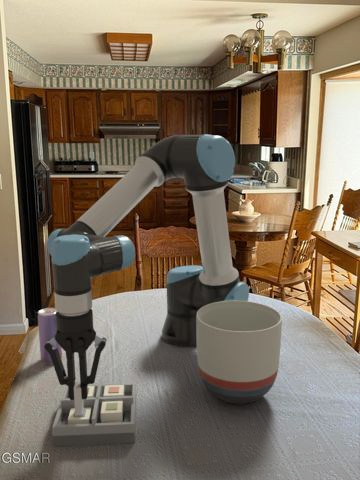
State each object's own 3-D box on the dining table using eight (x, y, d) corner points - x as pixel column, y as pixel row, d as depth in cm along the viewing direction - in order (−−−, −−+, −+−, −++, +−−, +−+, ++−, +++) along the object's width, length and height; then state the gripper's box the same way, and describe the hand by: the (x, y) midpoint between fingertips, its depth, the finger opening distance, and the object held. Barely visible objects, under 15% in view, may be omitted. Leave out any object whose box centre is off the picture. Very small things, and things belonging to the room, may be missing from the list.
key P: (123, 413, 108) (122, 400, 107) (122, 425, 103) (121, 411, 102) (102, 414, 107) (102, 400, 107) (101, 426, 103) (100, 412, 102)
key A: (124, 397, 114) (124, 384, 114) (123, 407, 110) (123, 394, 109) (105, 397, 114) (105, 384, 113) (103, 408, 110) (103, 394, 109)
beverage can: (56, 365, 135) (53, 315, 132) (37, 363, 136) (33, 314, 133) (65, 356, 141) (62, 308, 138) (46, 354, 142) (43, 306, 139)
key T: (91, 420, 107) (91, 406, 107) (89, 432, 103) (88, 418, 102) (71, 421, 107) (70, 407, 106) (68, 433, 103) (67, 419, 102)
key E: (95, 398, 114) (94, 385, 113) (92, 408, 110) (92, 395, 109) (75, 398, 114) (75, 385, 113) (73, 409, 109) (72, 396, 109)
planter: (196, 374, 130) (196, 300, 125) (271, 375, 129) (274, 300, 124) (196, 418, 110) (196, 331, 105) (285, 419, 109) (289, 332, 105)
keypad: (136, 397, 118) (136, 376, 117) (134, 442, 101) (134, 418, 100) (67, 400, 117) (65, 379, 116) (53, 446, 100) (51, 421, 99)
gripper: (107, 302, 103) (110, 401, 108) (45, 304, 102) (52, 403, 107) (104, 315, 96) (108, 420, 101) (38, 317, 95) (45, 423, 100)
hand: (79, 411), depth 104 cm, fingers closed
